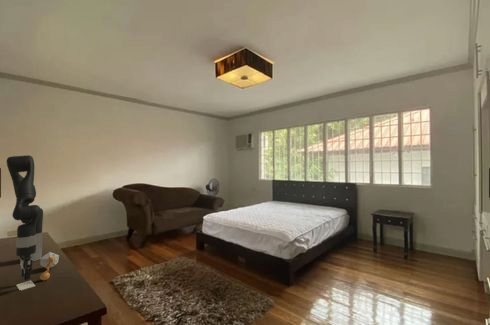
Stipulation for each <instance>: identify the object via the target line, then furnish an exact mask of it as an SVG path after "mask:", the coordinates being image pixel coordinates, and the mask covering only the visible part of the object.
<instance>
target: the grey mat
mask: <svg viewBox="0 0 490 325" xmlns="http://www.w3.org/2000/svg"><path fill="white" fill-rule="evenodd" d="M15 286H16V288H17V289H18V290H19V291H20V290H21V291H24V290H28V289H30V288H34V287H36V285H35V284H34V282H33V281H32V280H27V281H24V282H20V283H18V284H16V285H15Z"/></svg>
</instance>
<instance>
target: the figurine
mask: <svg viewBox="0 0 490 325" xmlns="http://www.w3.org/2000/svg"><path fill="white" fill-rule="evenodd" d="M48 259H49V260H48V261H49V263H48V264H47V265H46V266H45V267H44V268H45V269H46V270H45V271H44V272H43V273H41V274H40V276H39V278H40V280H41V281H46V280H48V279H50V276H51V274H50V272H49V271H50V269H52V268H53V267H52V264H53V262H54V259H55V257H50V256H49V258H48ZM48 261H47V262H48ZM47 262H46V263H47ZM51 263H52V264H51ZM49 267H50V269H49Z"/></svg>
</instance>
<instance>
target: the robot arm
mask: <svg viewBox="0 0 490 325" xmlns="http://www.w3.org/2000/svg"><path fill="white" fill-rule="evenodd" d="M6 167H7V170H8V173H9V175H10V177H11V181H12V184H13V185H12V186H13V190H14V194H15V195H14V196H15V199H16V202H15V206H14V209H13V211H12V214H11V215H12V218H13V220H15V221H21V222H20V223H22V224H19V225H18V226H17V231H16V233H17V234H16V243H15V244H16V245H15V246H16V247H15V248H16V249H15V250H16V251H15V255H16V256H17V257H19V261H20V262H19V263H20V264H19V267H20V270H21V277H22V278H23V280H24V281H29V280H31V272H32V271H33V262H35V261H38V260H40V259H41V258H42V257H43V254H42V253H43V224H44V223H43V221H44V209H42V208H41V207H40V205H38V204H33V202H34V201H35V198H36V197H37V190H36V186H35V184H34V181H35V160H34V157H33V156H32V155H14V156H12V155H11V156H8V157H7V159H6ZM24 172H25V173H26V174H25V176H24V177H23V176H22V175H21V174H20V173H24ZM30 204H31V205H30Z"/></svg>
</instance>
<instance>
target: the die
mask: <svg viewBox="0 0 490 325" xmlns="http://www.w3.org/2000/svg"><path fill="white" fill-rule="evenodd" d="M49 256H50V257H55V259H54V262H53V264H52V263H51V264H52V267H51V268H53V267H54V266H56V265H57V264H58V262H59V258H60V255H59V254H56V253H54V252H51V251H49V252H48V253H46V254H45V255H42V258H41V259H39V260H40V261H39V262H40V263H39V266H41V267H43V268H45V266H46V265H47V264H48V263H49V261H48V260H49V259H48V258H49ZM47 261H48V262H47ZM46 262H47V263H46ZM51 268H50V267H49V270H50V269H51Z"/></svg>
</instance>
